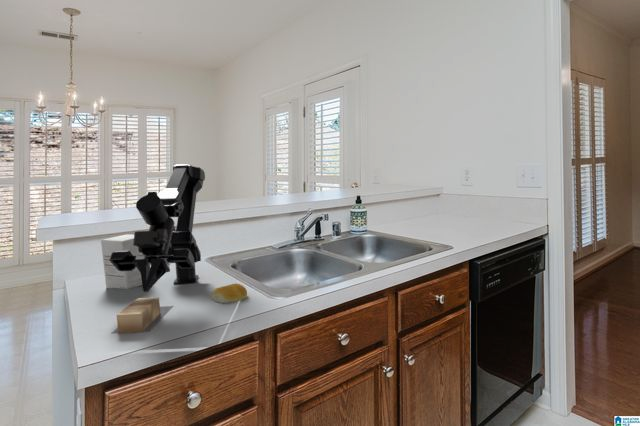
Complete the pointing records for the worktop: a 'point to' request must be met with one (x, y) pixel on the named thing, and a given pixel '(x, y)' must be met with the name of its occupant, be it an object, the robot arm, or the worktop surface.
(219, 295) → the bread roll
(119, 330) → the oak block
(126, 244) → the supplement box
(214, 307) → the worktop surface
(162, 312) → the mat
